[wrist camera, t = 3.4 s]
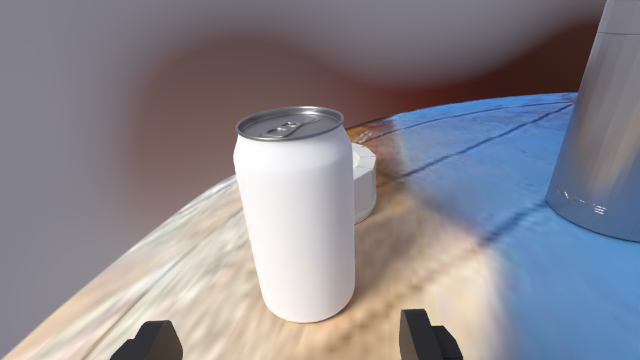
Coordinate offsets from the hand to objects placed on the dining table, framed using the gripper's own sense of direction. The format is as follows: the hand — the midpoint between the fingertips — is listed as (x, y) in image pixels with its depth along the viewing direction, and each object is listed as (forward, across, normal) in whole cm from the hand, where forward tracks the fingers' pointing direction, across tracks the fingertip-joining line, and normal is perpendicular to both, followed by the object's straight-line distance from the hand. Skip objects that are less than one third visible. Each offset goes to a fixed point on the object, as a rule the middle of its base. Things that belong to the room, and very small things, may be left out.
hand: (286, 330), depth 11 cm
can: (+8, 0, +7) cm, 11 cm away
